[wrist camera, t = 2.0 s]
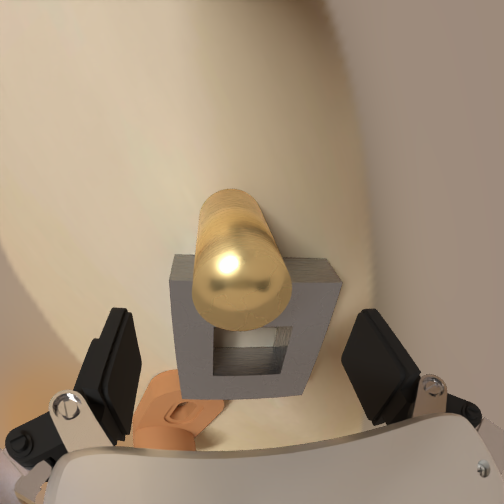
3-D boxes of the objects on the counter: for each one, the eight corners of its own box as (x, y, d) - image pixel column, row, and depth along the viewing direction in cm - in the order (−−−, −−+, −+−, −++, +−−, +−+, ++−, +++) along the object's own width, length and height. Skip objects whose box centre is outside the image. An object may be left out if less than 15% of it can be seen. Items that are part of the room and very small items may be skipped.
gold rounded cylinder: (200, 187, 19) (191, 247, 11) (264, 190, 20) (300, 251, 12) (198, 245, 21) (192, 330, 13) (257, 247, 22) (283, 330, 14)
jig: (174, 254, 21) (169, 280, 18) (326, 258, 23) (342, 282, 20) (183, 372, 27) (182, 399, 24) (294, 369, 29) (302, 394, 26)
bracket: (180, 433, 36) (186, 472, 30) (128, 426, 32) (129, 467, 27) (232, 374, 30) (246, 427, 24) (160, 361, 26) (164, 422, 20)
